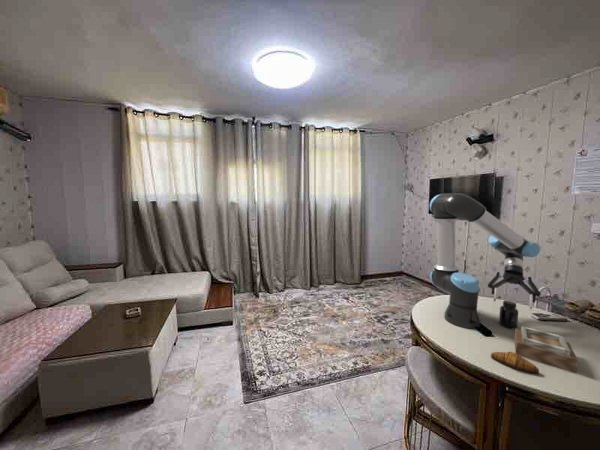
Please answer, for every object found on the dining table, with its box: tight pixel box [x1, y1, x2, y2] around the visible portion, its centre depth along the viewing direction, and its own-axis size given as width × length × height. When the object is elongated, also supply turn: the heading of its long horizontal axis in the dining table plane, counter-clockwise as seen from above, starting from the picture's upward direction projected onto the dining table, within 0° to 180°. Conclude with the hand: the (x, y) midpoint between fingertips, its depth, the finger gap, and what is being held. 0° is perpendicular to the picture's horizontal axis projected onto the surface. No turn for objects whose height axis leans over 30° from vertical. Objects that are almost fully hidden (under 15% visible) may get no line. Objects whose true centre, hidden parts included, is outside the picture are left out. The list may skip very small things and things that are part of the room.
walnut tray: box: [513, 325, 579, 374], centre depth 96 cm, size 16×14×7 cm
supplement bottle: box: [498, 300, 519, 330], centre depth 117 cm, size 7×7×12 cm
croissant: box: [490, 351, 540, 374], centre depth 89 cm, size 14×7×5 cm, turn 48°
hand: (512, 303), depth 120 cm, fingers open, 13 cm apart
